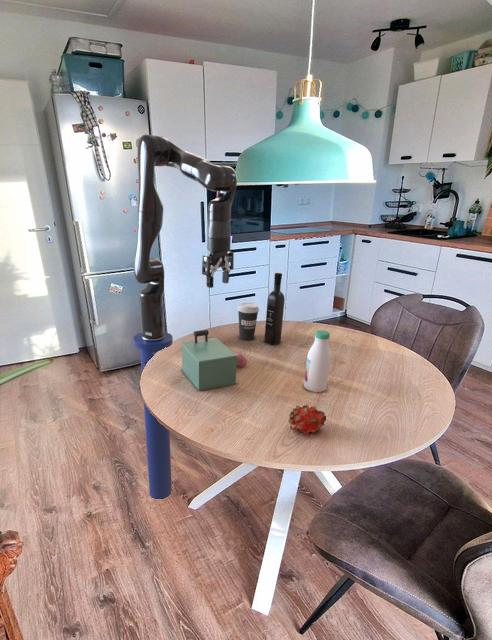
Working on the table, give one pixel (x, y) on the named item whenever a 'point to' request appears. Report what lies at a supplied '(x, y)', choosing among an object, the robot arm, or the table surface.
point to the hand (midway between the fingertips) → (217, 285)
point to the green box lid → (207, 348)
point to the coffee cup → (247, 320)
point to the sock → (240, 360)
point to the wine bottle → (274, 313)
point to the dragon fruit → (306, 419)
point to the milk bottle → (318, 363)
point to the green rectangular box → (209, 371)
